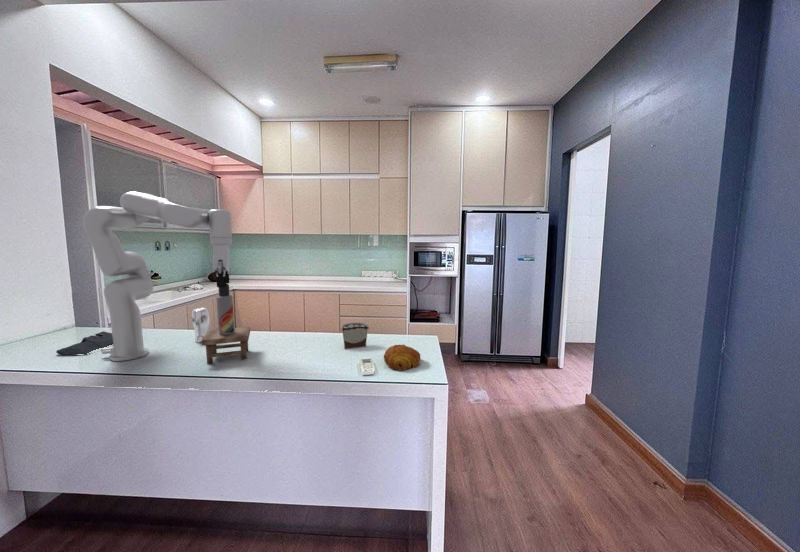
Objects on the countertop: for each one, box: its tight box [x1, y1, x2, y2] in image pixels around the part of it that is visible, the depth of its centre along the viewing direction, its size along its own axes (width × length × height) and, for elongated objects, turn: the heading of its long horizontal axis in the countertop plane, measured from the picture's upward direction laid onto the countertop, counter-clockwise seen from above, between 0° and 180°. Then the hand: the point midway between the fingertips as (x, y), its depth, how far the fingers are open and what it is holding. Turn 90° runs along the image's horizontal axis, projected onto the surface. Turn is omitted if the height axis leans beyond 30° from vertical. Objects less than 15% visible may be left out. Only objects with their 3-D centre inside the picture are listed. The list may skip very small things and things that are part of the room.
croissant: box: [383, 344, 422, 371], centre depth 131 cm, size 14×16×8 cm
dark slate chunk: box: [56, 330, 113, 355], centre depth 148 cm, size 15×22×5 cm
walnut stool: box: [201, 326, 251, 365], centre depth 136 cm, size 16×14×10 cm
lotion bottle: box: [216, 283, 235, 335], centre depth 134 cm, size 6×6×20 cm
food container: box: [340, 322, 370, 350], centre depth 151 cm, size 12×6×10 cm, turn 108°
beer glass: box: [191, 307, 210, 344], centre depth 156 cm, size 7×7×15 cm
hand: (223, 285), depth 133 cm, fingers open, 9 cm apart
